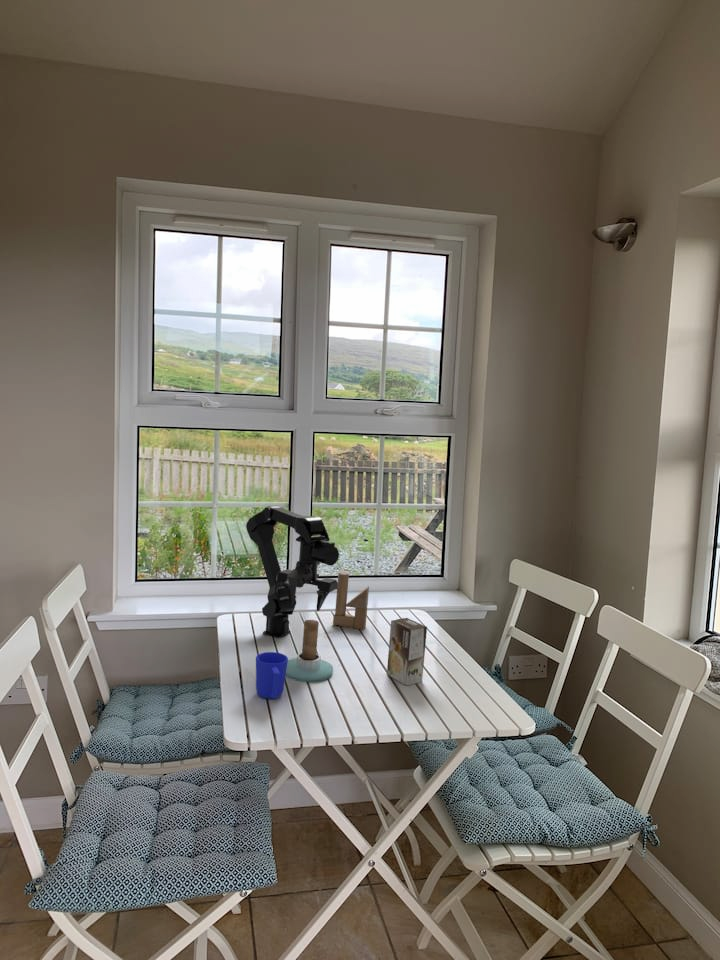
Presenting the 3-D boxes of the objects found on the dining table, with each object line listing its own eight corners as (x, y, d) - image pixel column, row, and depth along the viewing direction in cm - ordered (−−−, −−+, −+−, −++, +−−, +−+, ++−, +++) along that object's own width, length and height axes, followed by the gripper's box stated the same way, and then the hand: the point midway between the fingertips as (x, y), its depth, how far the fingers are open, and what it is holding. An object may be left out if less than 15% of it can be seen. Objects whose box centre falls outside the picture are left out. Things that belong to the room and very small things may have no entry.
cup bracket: (273, 673, 207) (274, 657, 206) (299, 658, 219) (300, 643, 219) (316, 686, 201) (318, 670, 200) (341, 670, 213) (342, 655, 213)
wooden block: (363, 630, 250) (368, 577, 247) (332, 625, 252) (336, 573, 249) (365, 626, 253) (370, 575, 251) (335, 622, 255) (339, 571, 253)
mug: (258, 709, 184) (260, 670, 183) (251, 688, 196) (253, 652, 194) (290, 707, 187) (293, 669, 185) (282, 687, 198) (284, 651, 197)
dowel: (298, 665, 210) (301, 620, 209) (310, 663, 213) (313, 619, 211) (305, 670, 207) (309, 625, 206) (317, 668, 210) (321, 623, 208)
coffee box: (423, 682, 210) (428, 626, 208) (406, 686, 206) (411, 630, 204) (402, 670, 217) (407, 617, 215) (385, 674, 213) (390, 620, 211)
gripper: (268, 557, 224) (264, 607, 226) (322, 568, 216) (318, 620, 218) (287, 551, 234) (284, 599, 236) (340, 561, 226) (336, 611, 228)
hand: (305, 607), depth 229 cm, fingers open, 9 cm apart
